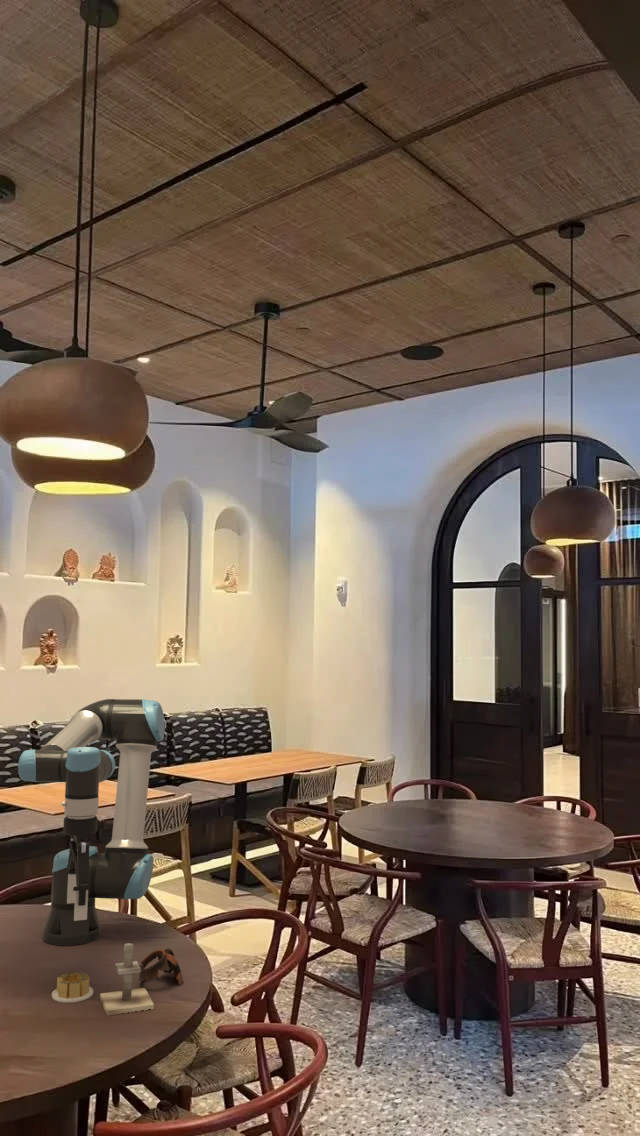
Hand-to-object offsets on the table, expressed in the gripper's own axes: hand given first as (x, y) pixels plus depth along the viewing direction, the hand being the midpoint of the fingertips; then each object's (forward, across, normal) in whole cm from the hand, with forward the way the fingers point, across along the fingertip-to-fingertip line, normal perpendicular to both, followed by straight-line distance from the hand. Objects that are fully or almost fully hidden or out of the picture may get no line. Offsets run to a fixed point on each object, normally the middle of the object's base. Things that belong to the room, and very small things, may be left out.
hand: (76, 911), depth 195 cm
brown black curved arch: (+19, -1, +21) cm, 28 cm away
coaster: (+18, 0, 0) cm, 18 cm away
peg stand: (+18, +9, +10) cm, 23 cm away
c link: (+18, 0, 0) cm, 18 cm away
